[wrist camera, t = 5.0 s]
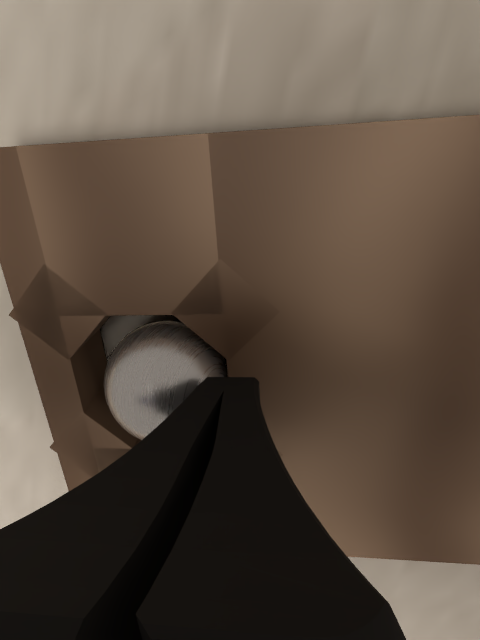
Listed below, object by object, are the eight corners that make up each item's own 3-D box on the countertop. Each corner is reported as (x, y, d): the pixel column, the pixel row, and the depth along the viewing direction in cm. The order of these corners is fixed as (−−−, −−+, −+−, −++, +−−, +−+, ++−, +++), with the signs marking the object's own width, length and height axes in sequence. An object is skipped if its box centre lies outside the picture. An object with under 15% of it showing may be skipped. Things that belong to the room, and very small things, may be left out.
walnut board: (817, 93, 9) (948, 83, 7) (630, 520, 14) (679, 576, 12) (10, 147, 12) (-43, 150, 10) (101, 495, 17) (78, 539, 15)
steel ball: (172, 368, 9) (64, 338, 11) (185, 489, 10) (88, 447, 12) (247, 313, 12) (153, 297, 14) (250, 415, 13) (164, 389, 15)
